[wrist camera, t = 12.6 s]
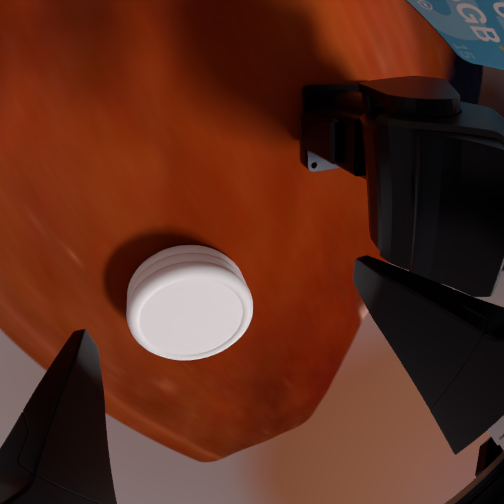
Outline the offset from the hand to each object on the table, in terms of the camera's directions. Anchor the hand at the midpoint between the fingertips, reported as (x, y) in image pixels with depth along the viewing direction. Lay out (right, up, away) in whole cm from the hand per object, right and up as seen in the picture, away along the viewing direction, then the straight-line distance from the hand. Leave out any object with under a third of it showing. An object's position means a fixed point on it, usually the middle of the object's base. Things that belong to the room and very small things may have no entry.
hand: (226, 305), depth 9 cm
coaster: (-5, -2, +16) cm, 17 cm away
